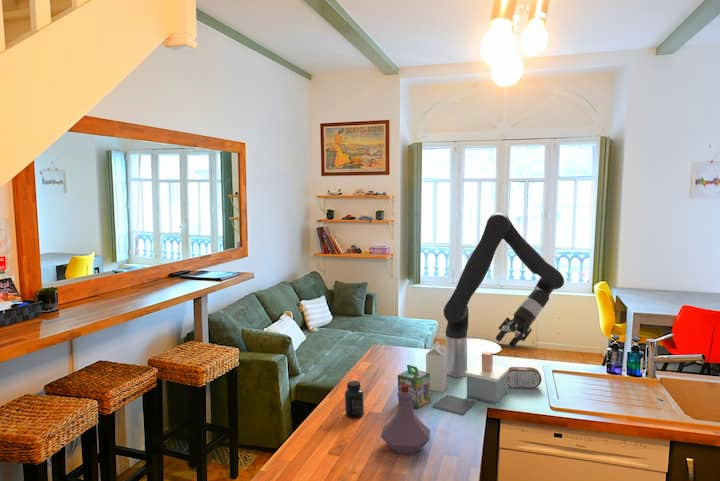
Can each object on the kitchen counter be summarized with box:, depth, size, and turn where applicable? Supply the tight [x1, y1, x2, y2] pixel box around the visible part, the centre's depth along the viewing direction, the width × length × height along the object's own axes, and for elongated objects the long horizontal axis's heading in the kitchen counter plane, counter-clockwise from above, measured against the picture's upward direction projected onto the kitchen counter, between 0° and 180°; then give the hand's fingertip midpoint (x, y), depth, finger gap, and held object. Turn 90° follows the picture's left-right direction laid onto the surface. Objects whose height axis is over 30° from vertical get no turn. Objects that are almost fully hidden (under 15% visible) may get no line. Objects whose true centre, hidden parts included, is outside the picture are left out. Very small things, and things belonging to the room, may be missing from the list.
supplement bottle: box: [344, 380, 365, 419], centre depth 176 cm, size 7×7×12 cm
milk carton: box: [425, 340, 448, 393], centre depth 198 cm, size 7×7×19 cm
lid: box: [465, 351, 510, 382], centre depth 190 cm, size 13×13×8 cm
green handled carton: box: [397, 364, 431, 410], centre depth 186 cm, size 9×9×15 cm
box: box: [466, 374, 508, 405], centre depth 190 cm, size 12×12×9 cm
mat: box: [432, 394, 477, 416], centre depth 183 cm, size 12×12×1 cm
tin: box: [507, 366, 542, 390], centre depth 197 cm, size 15×3×8 cm, turn 84°
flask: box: [380, 384, 431, 455], centre depth 153 cm, size 16×16×20 cm
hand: (503, 343), depth 191 cm, fingers open, 8 cm apart
